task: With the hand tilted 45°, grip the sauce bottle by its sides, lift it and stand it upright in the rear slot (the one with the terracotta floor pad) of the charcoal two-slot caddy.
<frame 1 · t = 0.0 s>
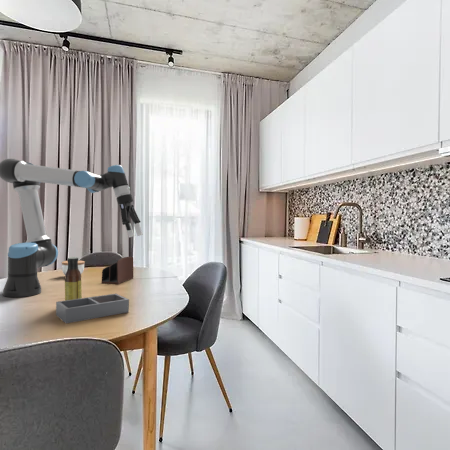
hand: (136, 236, 161), 28 cm above the table, tool tilted 20°, fingers open, 13 cm apart
sauce bottle: (72, 305, 132), on the table
slot caddy: (93, 313, 122), on the table
lidded sugar bowl: (72, 276, 194), on the table
letter holder: (118, 281, 187), on the table
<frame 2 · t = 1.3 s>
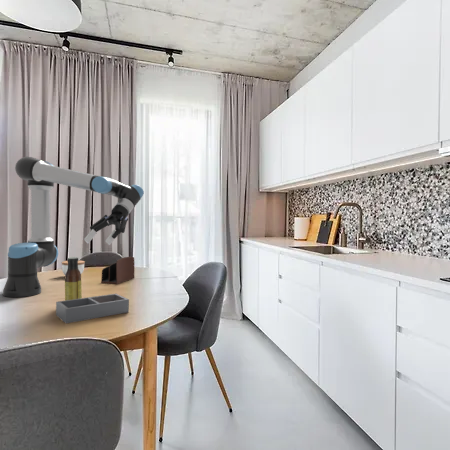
hand: (96, 242, 141), 26 cm above the table, tool tilted 45°, fingers open, 13 cm apart
nothing on the table moved.
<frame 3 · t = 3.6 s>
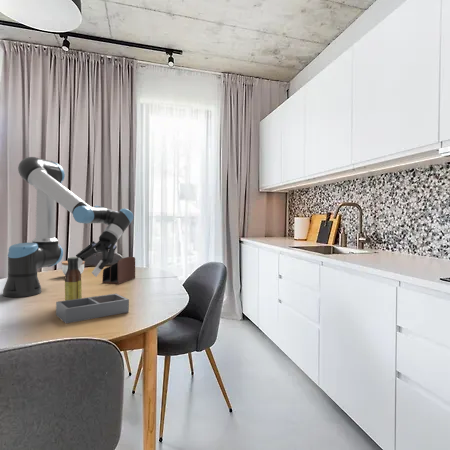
hand: (82, 273, 134), 13 cm above the table, tool tilted 45°, fingers open, 13 cm apart
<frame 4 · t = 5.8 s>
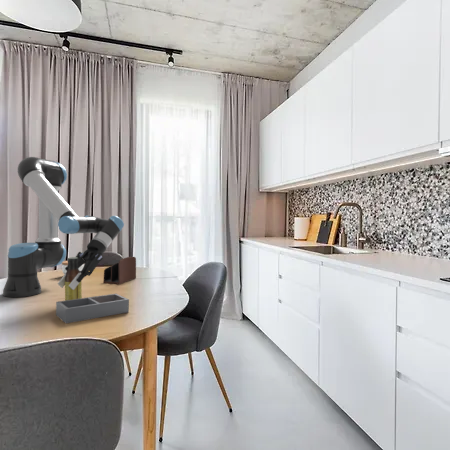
hand: (65, 286, 129), 8 cm above the table, tool tilted 45°, fingers closed on sauce bottle, 6 cm apart
sauce bottle: (72, 305, 132), on the table, touching gripper
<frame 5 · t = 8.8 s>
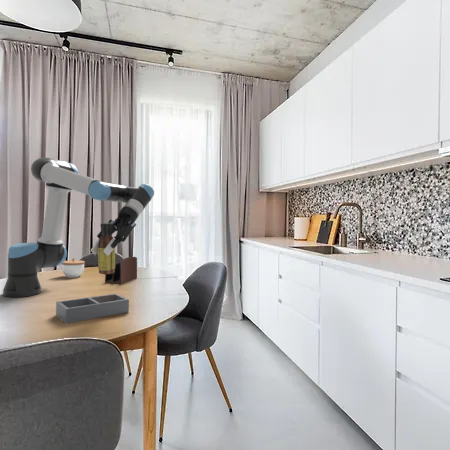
hand: (99, 252, 123), 23 cm above the table, tool tilted 45°, fingers closed on sauce bottle, 6 cm apart
sauce bottle: (106, 273, 126), point 15 cm above the table, touching gripper
when the fingers open (11 cm above the table, at t = 11.9 s): sauce bottle drops 2 cm, resting on slot caddy.
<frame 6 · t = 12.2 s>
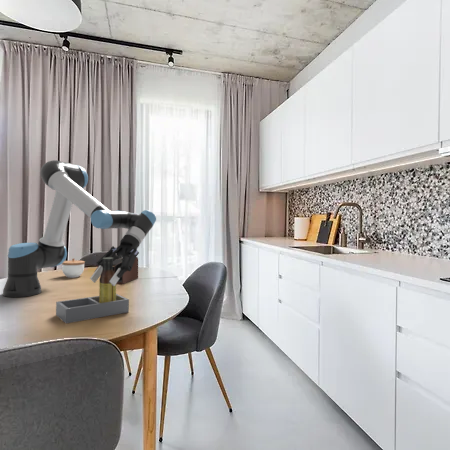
hand: (101, 282, 123), 12 cm above the table, tool tilted 45°, fingers open, 10 cm apart
sauce bottle: (107, 308, 126), point 1 cm above the table, touching slot caddy
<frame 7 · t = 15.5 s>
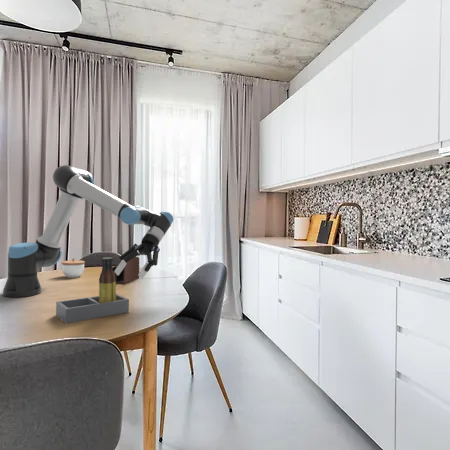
hand: (128, 275, 135), 13 cm above the table, tool tilted 45°, fingers open, 13 cm apart
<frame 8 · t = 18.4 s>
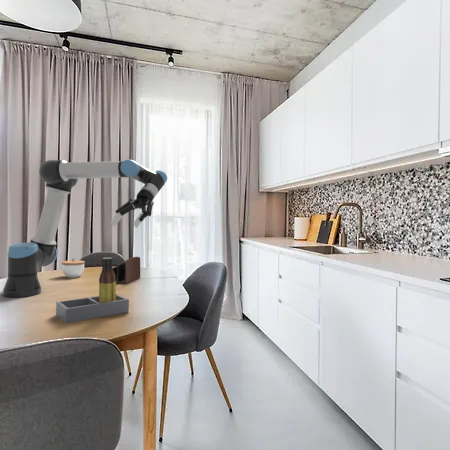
hand: (123, 225, 143), 34 cm above the table, tool tilted 45°, fingers open, 13 cm apart
at the end: sauce bottle inside the target area on the slot caddy (0.4 cm from its centre), point 1.0 cm above the slot caddy's base; sauce bottle tilted 0°; the gripper is holding nothing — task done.
